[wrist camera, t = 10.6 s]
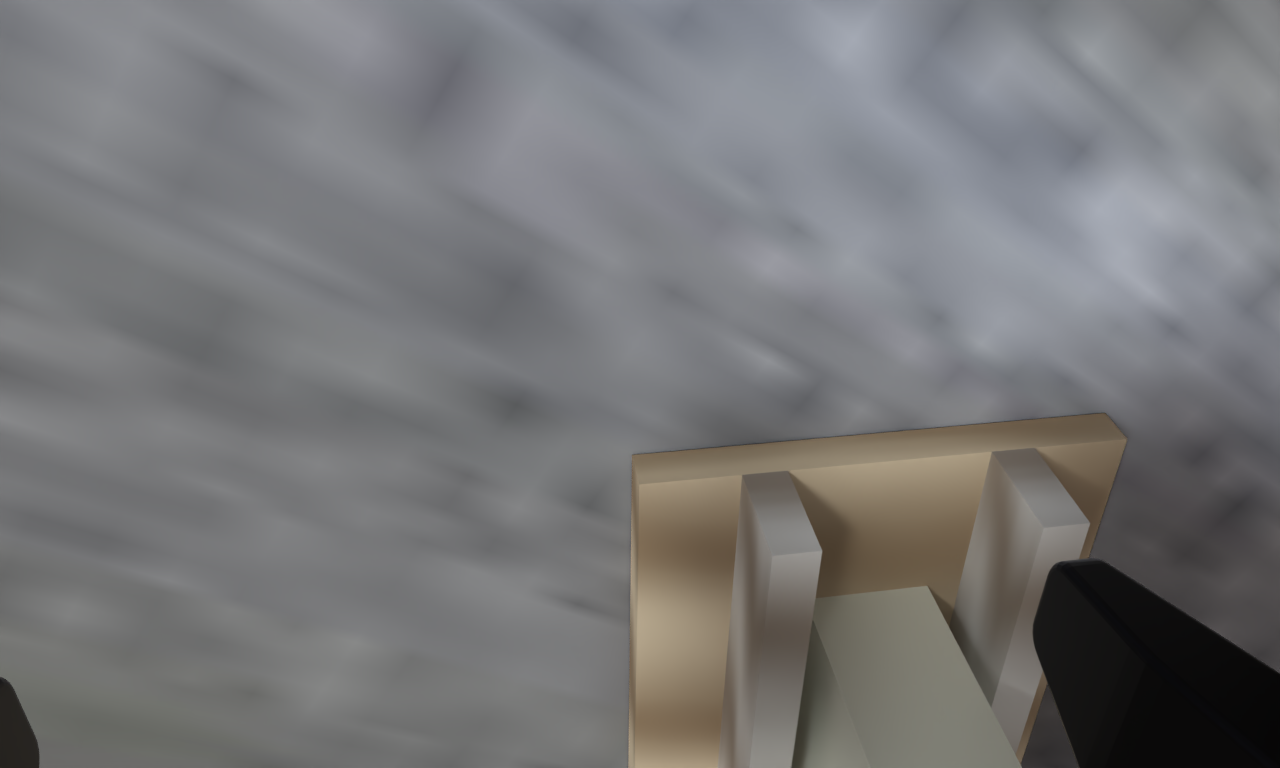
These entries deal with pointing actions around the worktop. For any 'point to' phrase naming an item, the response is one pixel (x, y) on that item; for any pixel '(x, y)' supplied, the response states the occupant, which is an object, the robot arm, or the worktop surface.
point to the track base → (844, 568)
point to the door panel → (892, 689)
